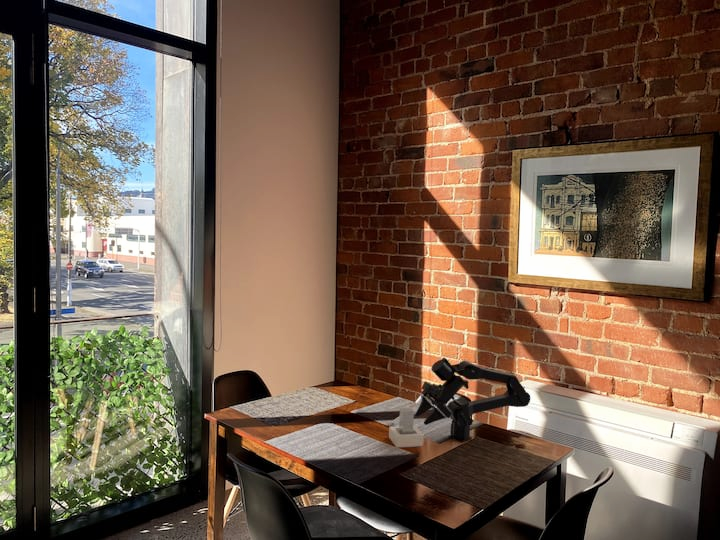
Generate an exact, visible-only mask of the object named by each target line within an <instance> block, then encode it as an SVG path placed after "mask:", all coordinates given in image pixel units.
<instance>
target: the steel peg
mask: <svg viewBox="0 0 720 540" xmlns="http://www.w3.org/2000/svg"><path fill="white" fill-rule="evenodd" d="M412 409H413V408H412V407H410V408H406V407H400V408H399V416H400V422H399V424H398V426H399V434H400V435H402V434H413V426H414V419H415V414H414V411H413V410H412Z"/></svg>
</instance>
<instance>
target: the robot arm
mask: <svg viewBox="0 0 720 540" xmlns="http://www.w3.org/2000/svg"><path fill="white" fill-rule="evenodd" d="M430 369H431V371H432V373H434V375H435V376H436V377H437V378H439V380H440V381H442V382H444V383H442V384H438V385H437V384H435V383H430V382H429V381H426V380H425V381H424V382H423V384H422V386H421V392H420V394H421V395H420V398H421V402H420V404H419V405H418V410H417V412H416V414H414V416H416V417H419V416H422V415H423V414H425V413H426V412H428V411H429V410H431V409H432V410H431V412H430V413H429V414H428V415H427V417H426V419H424V421H423V425H425V426H426V425H429V424H432V423H434V422H438V421H439V420H441V421H442V420H443V419H444V420H446V418H447V419H449V418H450V420H451V424H450V435H448V438H450V439H452V440H455V441H457V442H460V443H464V442H466V441H469V440H471V439H473V436H470V432H471V426H472V425H473V422H474V419H473V418H472V416H473V415H474V414H479V413H483V412H487V411H491V410H496V409H499V408H505V407H515V408H520V407H521V408H523V407H527V406H528V405H529V403H530V402H531V394H529V393H528V391H526V389H525V387H524V386H523V384H522V383H520V381H519V379H518V377H517V376H516V375H515V374H514V373H513V374H512V373H511V372H505V371H500V370H495V369H492V368H491V369H490V368H486V367H481V366H479V365H476V364H474V363H472V362H469V361H467V360H462V361H461V362H459V363H456V364H451V363H450V361H449V360H448V359H447V358H446V357H442V359H439V360H437V361H435V362H434V363H433V364H432V365H431V368H430ZM455 373H456V374H455ZM466 379H467V380H466ZM468 380H470V381H471V380H474V381H475V380H476V381H477V380H487V381H492V382H496V383H501V384H505V388H506V390H505V392H504V393H502V394H499V395H493V396H489V397H486V398H480V399H476V400H470V401H468V400H467V399H466V398H465V397H459V398H457V399H456V397H455V395H456V394H457V393H459V391H460V390H461V389H462V388H463V387H464V388H465V389H467V390H469V381H468ZM447 403H448V404H447Z"/></svg>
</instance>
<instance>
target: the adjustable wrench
mask: <svg viewBox="0 0 720 540" xmlns="http://www.w3.org/2000/svg"><path fill="white" fill-rule="evenodd" d="M405 408H411V407H410V406H406V407H405ZM418 408H419V406H417V407H415V408H411V409H412V410H413V411H414V415H415V414H416V412H417V410H418ZM399 422H400V415H399V416H398V417H396V418H395V419H393V420H391V422H389V423H388V427H395V426H399Z"/></svg>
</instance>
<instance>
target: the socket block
mask: <svg viewBox="0 0 720 540" xmlns="http://www.w3.org/2000/svg"><path fill="white" fill-rule="evenodd" d="M388 427H389V426H388ZM424 437H425V435H424V434H423V433H422V432H421V430H420V429H419V428H418V427H417V426H416V425H415V424H413V434H402V435H400V434H399V425H397V426H395V427H389V428H388V439H389V440H390V442H392V443H393V445H394V446H395V447H396V448H410V447H413V448H414V447H424Z"/></svg>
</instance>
